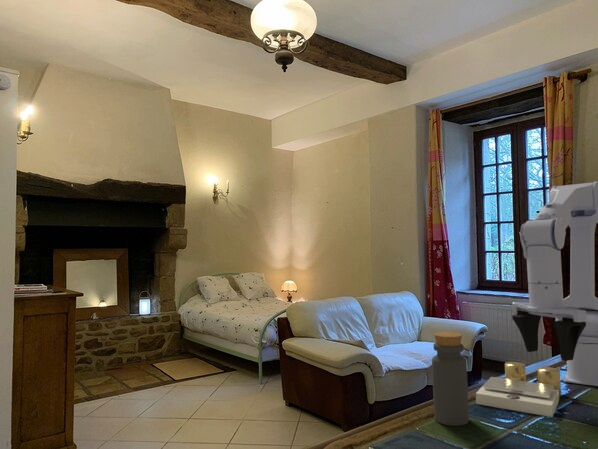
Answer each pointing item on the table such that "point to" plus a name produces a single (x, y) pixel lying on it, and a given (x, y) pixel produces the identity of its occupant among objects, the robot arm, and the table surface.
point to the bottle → (450, 380)
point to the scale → (518, 401)
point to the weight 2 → (550, 377)
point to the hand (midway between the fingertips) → (549, 355)
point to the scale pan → (519, 387)
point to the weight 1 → (515, 371)
